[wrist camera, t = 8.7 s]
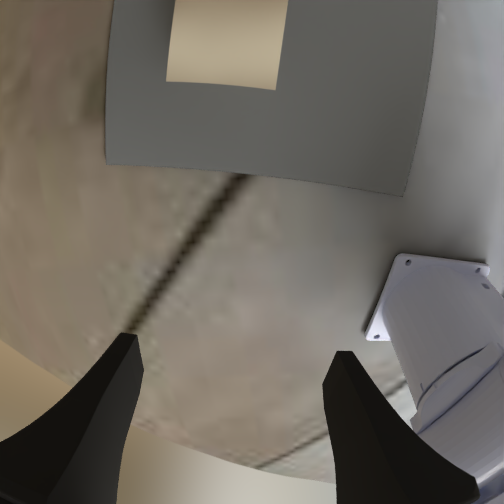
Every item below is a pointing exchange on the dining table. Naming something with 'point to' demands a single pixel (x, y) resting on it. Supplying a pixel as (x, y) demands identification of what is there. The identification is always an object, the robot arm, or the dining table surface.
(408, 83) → the rubber mat
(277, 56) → the brown and cream block
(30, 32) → the dining table surface
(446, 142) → the dining table surface
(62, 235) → the dining table surface
